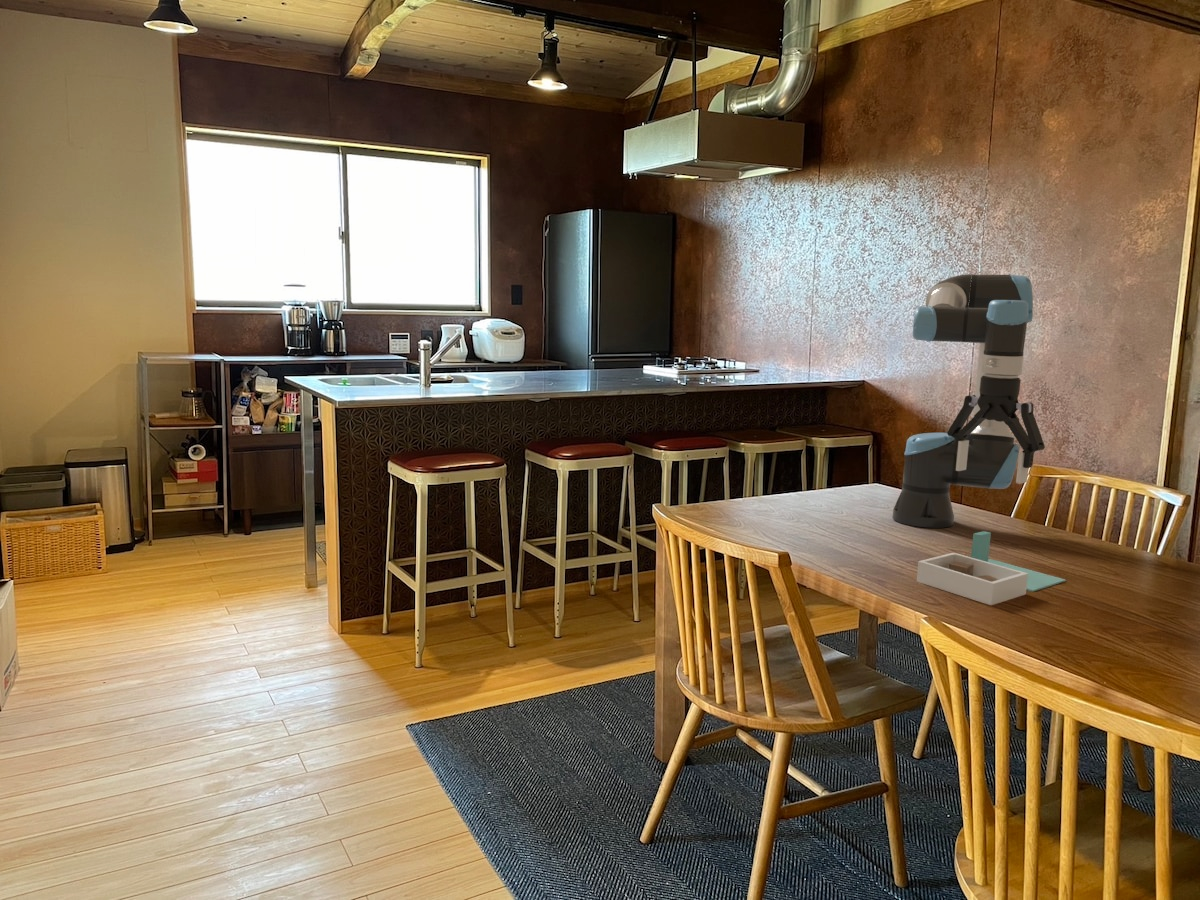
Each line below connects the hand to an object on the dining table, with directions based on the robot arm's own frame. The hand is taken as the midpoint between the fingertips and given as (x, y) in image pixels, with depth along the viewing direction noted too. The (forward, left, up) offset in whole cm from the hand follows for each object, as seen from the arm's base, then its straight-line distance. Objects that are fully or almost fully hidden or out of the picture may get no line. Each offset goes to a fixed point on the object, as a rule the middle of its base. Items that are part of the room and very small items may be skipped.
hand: (990, 476), depth 182 cm
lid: (0, +7, -20) cm, 21 cm away
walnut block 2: (+17, +12, -20) cm, 29 cm away
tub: (+15, +7, -20) cm, 27 cm away
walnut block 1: (+13, +4, -20) cm, 24 cm away
